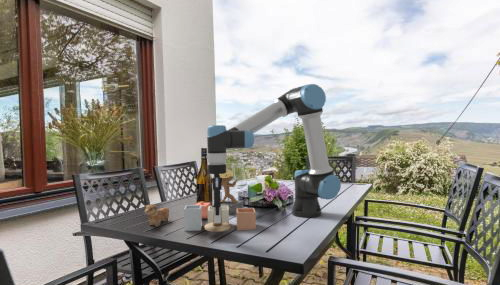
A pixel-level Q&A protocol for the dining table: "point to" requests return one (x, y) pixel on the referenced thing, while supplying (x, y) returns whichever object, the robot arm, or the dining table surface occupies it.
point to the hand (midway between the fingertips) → (217, 221)
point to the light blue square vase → (192, 217)
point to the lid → (217, 225)
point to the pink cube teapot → (204, 209)
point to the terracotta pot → (246, 218)
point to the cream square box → (224, 214)
